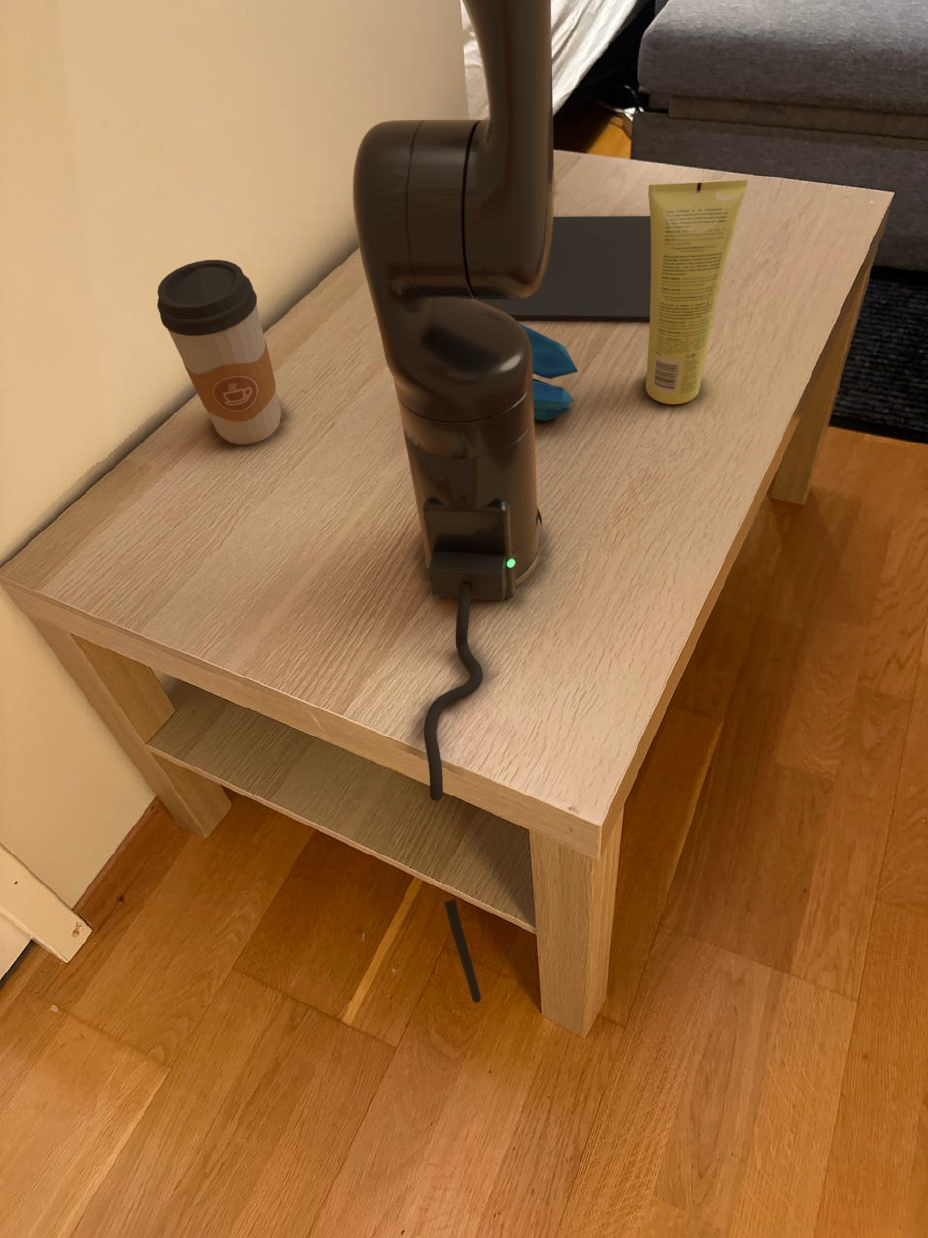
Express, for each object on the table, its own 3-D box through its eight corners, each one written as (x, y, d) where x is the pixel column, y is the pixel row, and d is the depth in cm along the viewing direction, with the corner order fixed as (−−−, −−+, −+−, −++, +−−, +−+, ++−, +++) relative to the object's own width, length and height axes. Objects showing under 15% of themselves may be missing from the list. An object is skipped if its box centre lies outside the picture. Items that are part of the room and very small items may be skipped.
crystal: (573, 383, 75) (446, 329, 77) (552, 455, 82) (437, 403, 84) (605, 334, 79) (483, 283, 81) (582, 406, 86) (471, 358, 88)
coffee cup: (211, 462, 83) (153, 321, 72) (203, 409, 89) (148, 269, 77) (298, 440, 84) (255, 297, 72) (286, 389, 89) (243, 247, 78)
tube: (675, 364, 86) (698, 156, 71) (716, 386, 84) (749, 176, 68) (633, 390, 84) (648, 183, 69) (674, 414, 82) (698, 204, 66)
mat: (656, 321, 91) (656, 316, 90) (444, 318, 95) (443, 313, 94) (661, 220, 103) (661, 215, 102) (472, 221, 107) (472, 216, 106)
